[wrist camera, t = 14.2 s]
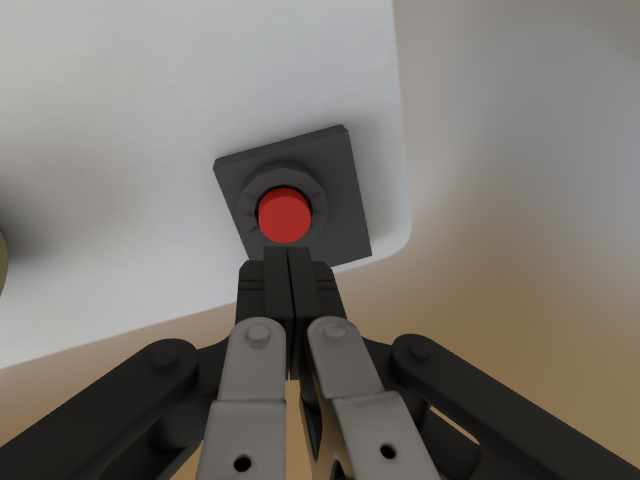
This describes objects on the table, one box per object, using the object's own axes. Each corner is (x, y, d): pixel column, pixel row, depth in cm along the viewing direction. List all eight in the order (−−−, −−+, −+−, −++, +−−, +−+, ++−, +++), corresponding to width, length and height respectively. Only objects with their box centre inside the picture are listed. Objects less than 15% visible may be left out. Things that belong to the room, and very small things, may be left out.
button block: (215, 159, 28) (209, 176, 24) (341, 123, 28) (353, 136, 25) (260, 273, 33) (260, 300, 30) (366, 243, 34) (378, 267, 30)
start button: (252, 194, 26) (251, 204, 24) (301, 181, 26) (303, 190, 24) (267, 237, 28) (267, 249, 26) (313, 224, 28) (316, 235, 26)
